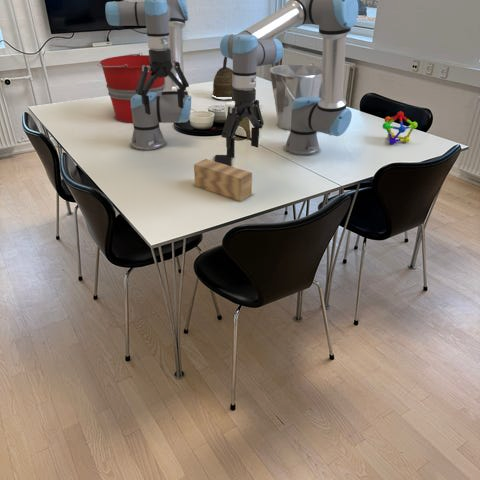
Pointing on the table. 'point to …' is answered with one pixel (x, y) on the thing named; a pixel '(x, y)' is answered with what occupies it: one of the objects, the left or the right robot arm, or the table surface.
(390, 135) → the educational toy
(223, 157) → the smartphone
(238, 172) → the box
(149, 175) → the table surface
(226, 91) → the bell
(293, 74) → the bucket
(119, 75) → the bucket
